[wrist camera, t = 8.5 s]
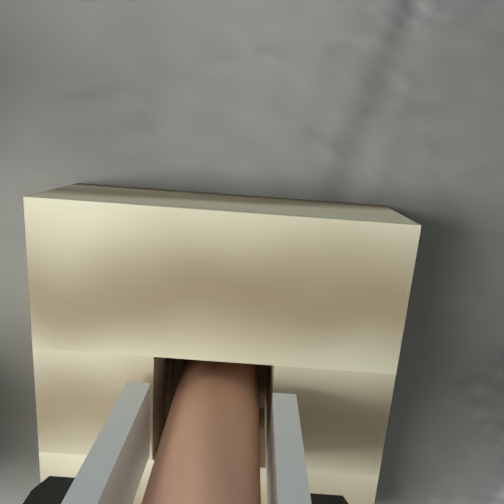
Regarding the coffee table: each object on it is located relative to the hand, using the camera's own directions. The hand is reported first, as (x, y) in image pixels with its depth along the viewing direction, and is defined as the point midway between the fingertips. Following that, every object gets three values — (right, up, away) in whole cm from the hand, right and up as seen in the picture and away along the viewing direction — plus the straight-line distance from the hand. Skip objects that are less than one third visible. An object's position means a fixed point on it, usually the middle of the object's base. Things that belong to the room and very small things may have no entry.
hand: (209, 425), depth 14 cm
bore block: (0, +1, +5) cm, 5 cm away
